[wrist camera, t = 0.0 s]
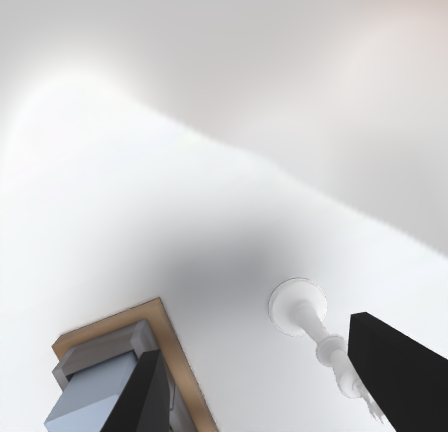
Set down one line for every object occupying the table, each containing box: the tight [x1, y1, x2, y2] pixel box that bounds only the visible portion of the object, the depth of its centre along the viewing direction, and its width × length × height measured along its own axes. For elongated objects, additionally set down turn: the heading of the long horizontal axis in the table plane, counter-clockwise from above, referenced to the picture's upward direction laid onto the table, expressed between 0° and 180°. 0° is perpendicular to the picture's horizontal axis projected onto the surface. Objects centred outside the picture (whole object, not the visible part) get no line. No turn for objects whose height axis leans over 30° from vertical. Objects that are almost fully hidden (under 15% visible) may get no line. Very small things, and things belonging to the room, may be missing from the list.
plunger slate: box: [44, 350, 138, 432], centre depth 15 cm, size 4×4×4 cm
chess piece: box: [268, 278, 389, 424], centre depth 16 cm, size 5×5×10 cm
